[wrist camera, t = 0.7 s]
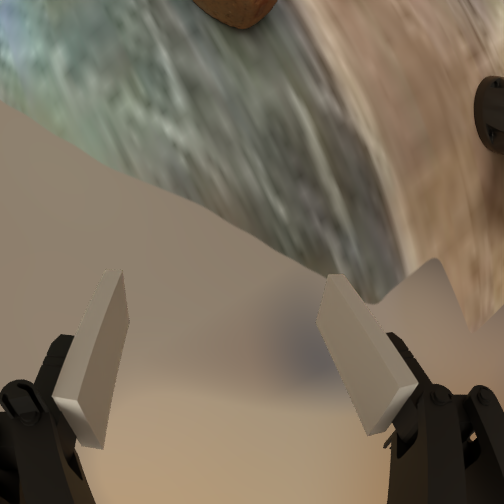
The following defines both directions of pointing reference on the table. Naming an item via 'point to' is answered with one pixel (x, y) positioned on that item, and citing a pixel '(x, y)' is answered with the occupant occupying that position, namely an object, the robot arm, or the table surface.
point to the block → (237, 11)
